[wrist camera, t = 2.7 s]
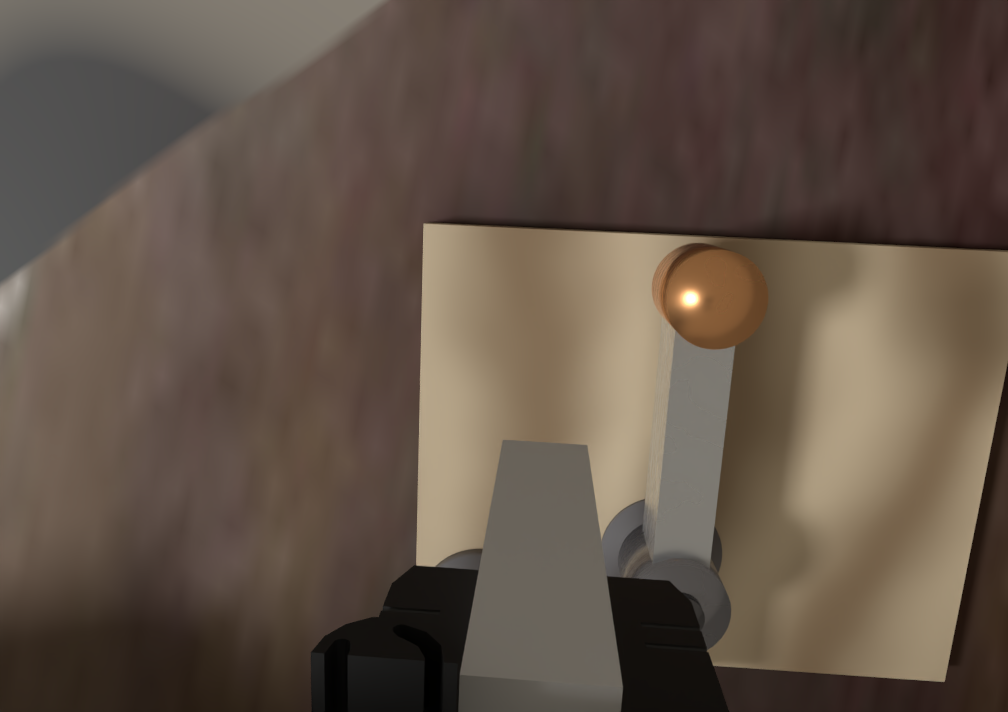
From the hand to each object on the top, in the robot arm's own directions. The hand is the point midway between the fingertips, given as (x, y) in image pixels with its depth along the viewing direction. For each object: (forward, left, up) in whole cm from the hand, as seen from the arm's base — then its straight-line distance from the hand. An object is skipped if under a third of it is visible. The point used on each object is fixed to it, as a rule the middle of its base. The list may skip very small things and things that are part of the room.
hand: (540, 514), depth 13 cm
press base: (+6, -4, -14) cm, 16 cm away
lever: (+5, -4, -13) cm, 14 cm away
